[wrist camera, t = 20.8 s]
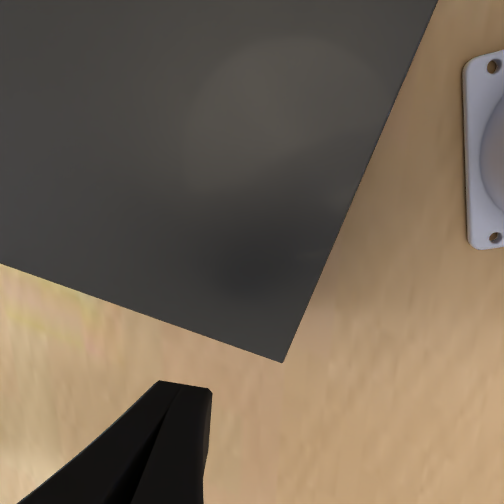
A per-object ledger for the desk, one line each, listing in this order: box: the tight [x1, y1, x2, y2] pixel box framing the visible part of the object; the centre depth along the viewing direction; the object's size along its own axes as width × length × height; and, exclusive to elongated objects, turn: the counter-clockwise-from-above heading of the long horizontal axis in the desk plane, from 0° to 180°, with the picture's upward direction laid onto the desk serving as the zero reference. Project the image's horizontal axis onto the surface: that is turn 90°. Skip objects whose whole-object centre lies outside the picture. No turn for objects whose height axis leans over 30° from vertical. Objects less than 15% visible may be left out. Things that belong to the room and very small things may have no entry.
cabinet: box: [0, 0, 438, 363], centre depth 14 cm, size 15×14×5 cm
